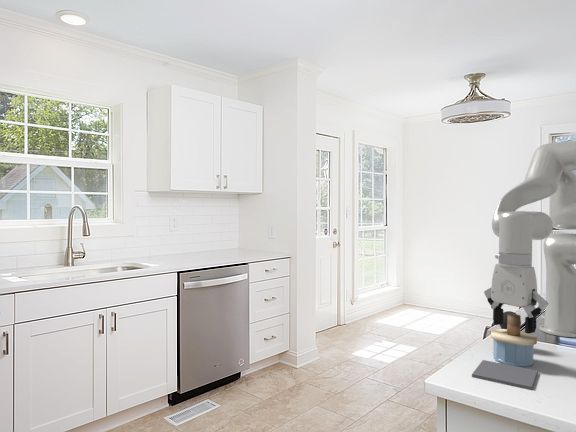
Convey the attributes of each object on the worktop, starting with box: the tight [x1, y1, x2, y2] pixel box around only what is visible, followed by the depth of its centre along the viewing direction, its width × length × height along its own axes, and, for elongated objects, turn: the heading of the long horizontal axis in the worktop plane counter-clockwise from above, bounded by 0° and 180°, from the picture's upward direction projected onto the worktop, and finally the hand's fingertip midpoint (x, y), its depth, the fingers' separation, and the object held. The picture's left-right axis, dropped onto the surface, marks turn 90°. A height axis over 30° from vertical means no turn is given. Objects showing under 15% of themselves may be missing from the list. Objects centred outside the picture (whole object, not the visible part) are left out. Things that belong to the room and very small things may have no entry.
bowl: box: [492, 339, 535, 368], centre depth 110 cm, size 9×9×6 cm
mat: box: [471, 359, 538, 391], centre depth 100 cm, size 12×12×1 cm
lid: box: [490, 313, 538, 346], centre depth 110 cm, size 10×10×6 cm
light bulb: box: [499, 310, 522, 329], centre depth 122 cm, size 6×6×10 cm
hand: (513, 328), depth 110 cm, fingers open, 8 cm apart
